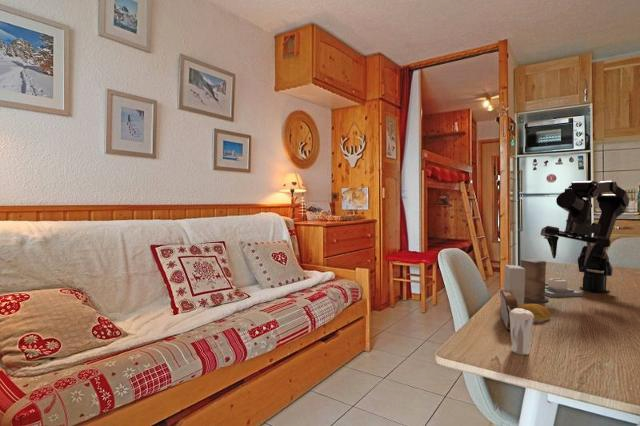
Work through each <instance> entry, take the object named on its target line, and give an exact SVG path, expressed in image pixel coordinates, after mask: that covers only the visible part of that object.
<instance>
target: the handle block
mask: <svg viewBox="0 0 640 426" xmlns="http://www.w3.org/2000/svg"><path fill="white" fill-rule="evenodd" d="M520 267H522V268H524V269H525V291H524V297H525V298H529V299H532V300H537V299H544V298H545V297H546V295H545V283H546V271H547V269H546V268H547V261H545V260H538V259H533V258H530V259H528V258H527V259H520Z"/></svg>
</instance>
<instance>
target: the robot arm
mask: <svg viewBox="0 0 640 426" xmlns="http://www.w3.org/2000/svg"><path fill="white" fill-rule="evenodd" d="M603 193H604V194H603ZM593 198H595V199H596V202H597V203H598V208H599V210H600V216H599V219H598V221H597V222H592V223H591V224H590V219H589V218H590V211H591V208H593V204H592V202H591V201H590V200H589V199H593ZM555 202H556V205H557V206H558V207H560V208H561V209H563V210H564V211H566V212H568V214H567V218H566V220H565V222H566V224H565V229H564V231H563V230H560V227H556V226H552V225H551V226H550V225H546V226H544V227H542V228H541V231H540V236H542V237H543V239H545V240H546V241H547V243H548V246H549V248H550V252H551V256H552V259H556V256H557V252H558V251H557V250H558V242H559V238H560V237H561V238H565V239H570V240H574V241H580V242H585V243H588V244H589V245H584V246H583V247H581V251H580V254H579V256H578V258H577V266H578V272H579V273H583V277H582V286H579V289H581V290H585V291H588V292H591V293H611V290H608V289H607V277H608V276H609V277H612V275H613V269H614V268H613V267H612V265H611V263H610V257H609V255H608V252H607V248H608V247H611V243H612V242H611V236H612V233H613V230H614V226H615V224H616V221H617V218H618V217H619V216H621V215H623V214H624V213H625V211H626V209H627V207H628V206H629V205H630V199H629V196H628V193H627V191H626V190H624V189H623V188H621V187H620V186H619V185H618V184H617V182H616V181H614V180H604V181H603V180H601V181H595V180H582V181H580V180H578V181H577V180H575V181H572V182H571V184H570V185H568V187H566V188H564V191H562V192H561V193H559V194H558V195H557V197H556V200H555ZM592 234H593V235H592Z"/></svg>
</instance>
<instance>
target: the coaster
mask: <svg viewBox="0 0 640 426" xmlns="http://www.w3.org/2000/svg"><path fill="white" fill-rule="evenodd" d="M524 302H529V303H533V304H544V303H545V304H546V303H549V298H548V297H547V296H545V298H544V299H537V300H532V299H529V298H525V297H524Z"/></svg>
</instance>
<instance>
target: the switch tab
mask: <svg viewBox="0 0 640 426" xmlns="http://www.w3.org/2000/svg"><path fill="white" fill-rule="evenodd" d="M547 283H548V287H550V288H553V289H557V290H567V288H568V280H565V279H563V278H562V277H553V278H552V277H551V278H548V279H547Z"/></svg>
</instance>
